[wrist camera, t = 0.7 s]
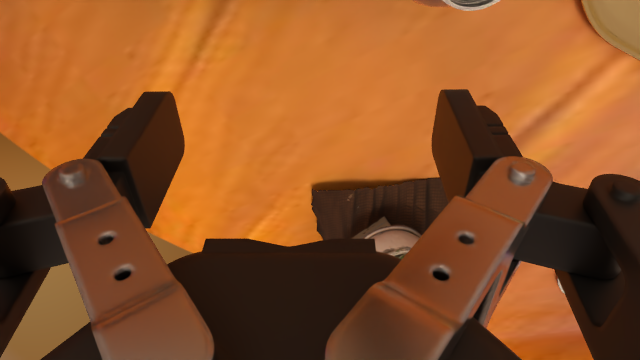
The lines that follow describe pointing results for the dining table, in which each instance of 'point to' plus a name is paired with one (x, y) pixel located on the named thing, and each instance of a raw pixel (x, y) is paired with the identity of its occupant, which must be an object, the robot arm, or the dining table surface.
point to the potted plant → (380, 213)
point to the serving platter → (616, 23)
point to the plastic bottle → (458, 3)
